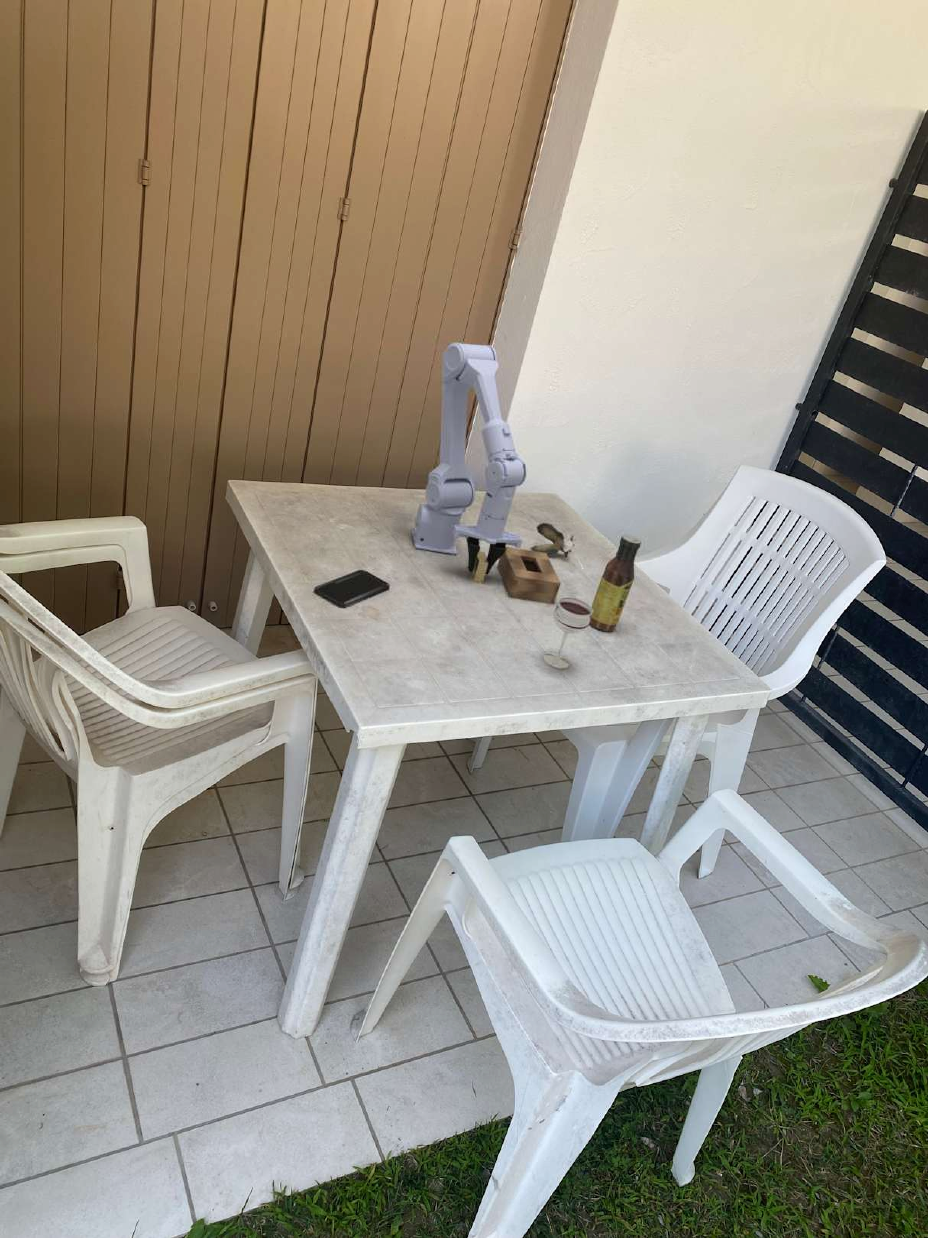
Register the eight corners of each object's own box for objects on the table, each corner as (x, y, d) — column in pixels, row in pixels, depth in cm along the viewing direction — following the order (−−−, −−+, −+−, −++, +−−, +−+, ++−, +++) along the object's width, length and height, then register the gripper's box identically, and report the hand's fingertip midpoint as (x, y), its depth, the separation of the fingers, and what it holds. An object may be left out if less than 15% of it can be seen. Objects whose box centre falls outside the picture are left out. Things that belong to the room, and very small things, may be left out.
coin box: (508, 597, 194) (515, 576, 191) (497, 566, 205) (503, 545, 203) (553, 603, 196) (560, 583, 194) (539, 572, 208) (546, 553, 205)
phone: (392, 585, 184) (343, 605, 172) (391, 590, 184) (342, 611, 172) (361, 568, 187) (311, 587, 175) (360, 573, 187) (310, 592, 175)
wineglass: (544, 646, 179) (563, 593, 173) (577, 660, 177) (597, 606, 172) (534, 661, 173) (553, 606, 167) (568, 675, 172) (588, 620, 166)
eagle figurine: (565, 543, 224) (532, 529, 222) (580, 529, 218) (545, 514, 216) (561, 569, 220) (527, 555, 218) (575, 555, 214) (540, 541, 212)
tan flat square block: (473, 582, 196) (479, 561, 193) (469, 571, 200) (475, 550, 198) (482, 583, 196) (488, 562, 194) (478, 572, 200) (484, 552, 198)
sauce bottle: (614, 636, 190) (647, 550, 181) (585, 626, 190) (616, 540, 181) (616, 622, 196) (647, 538, 186) (587, 613, 196) (617, 529, 187)
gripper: (463, 515, 186) (447, 574, 192) (531, 527, 189) (513, 585, 196) (458, 501, 192) (443, 559, 198) (524, 513, 195) (507, 569, 202)
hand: (477, 571), depth 197 cm, fingers open, 3 cm apart
